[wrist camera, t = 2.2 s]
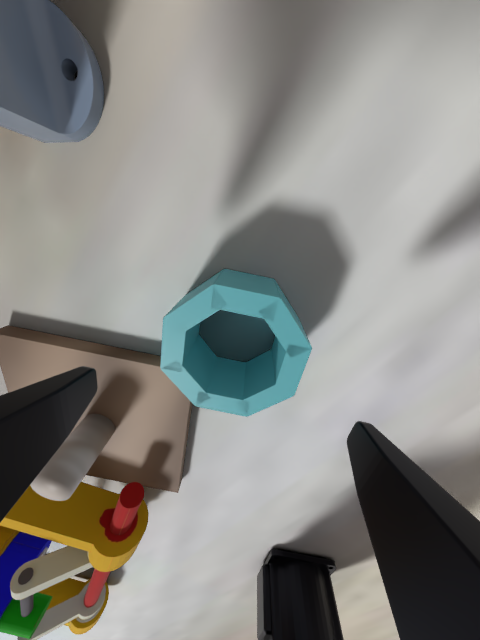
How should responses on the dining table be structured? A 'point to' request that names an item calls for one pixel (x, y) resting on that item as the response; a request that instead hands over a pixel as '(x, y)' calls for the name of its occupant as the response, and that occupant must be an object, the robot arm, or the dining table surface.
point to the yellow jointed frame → (65, 557)
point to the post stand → (105, 413)
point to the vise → (47, 74)
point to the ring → (225, 374)
